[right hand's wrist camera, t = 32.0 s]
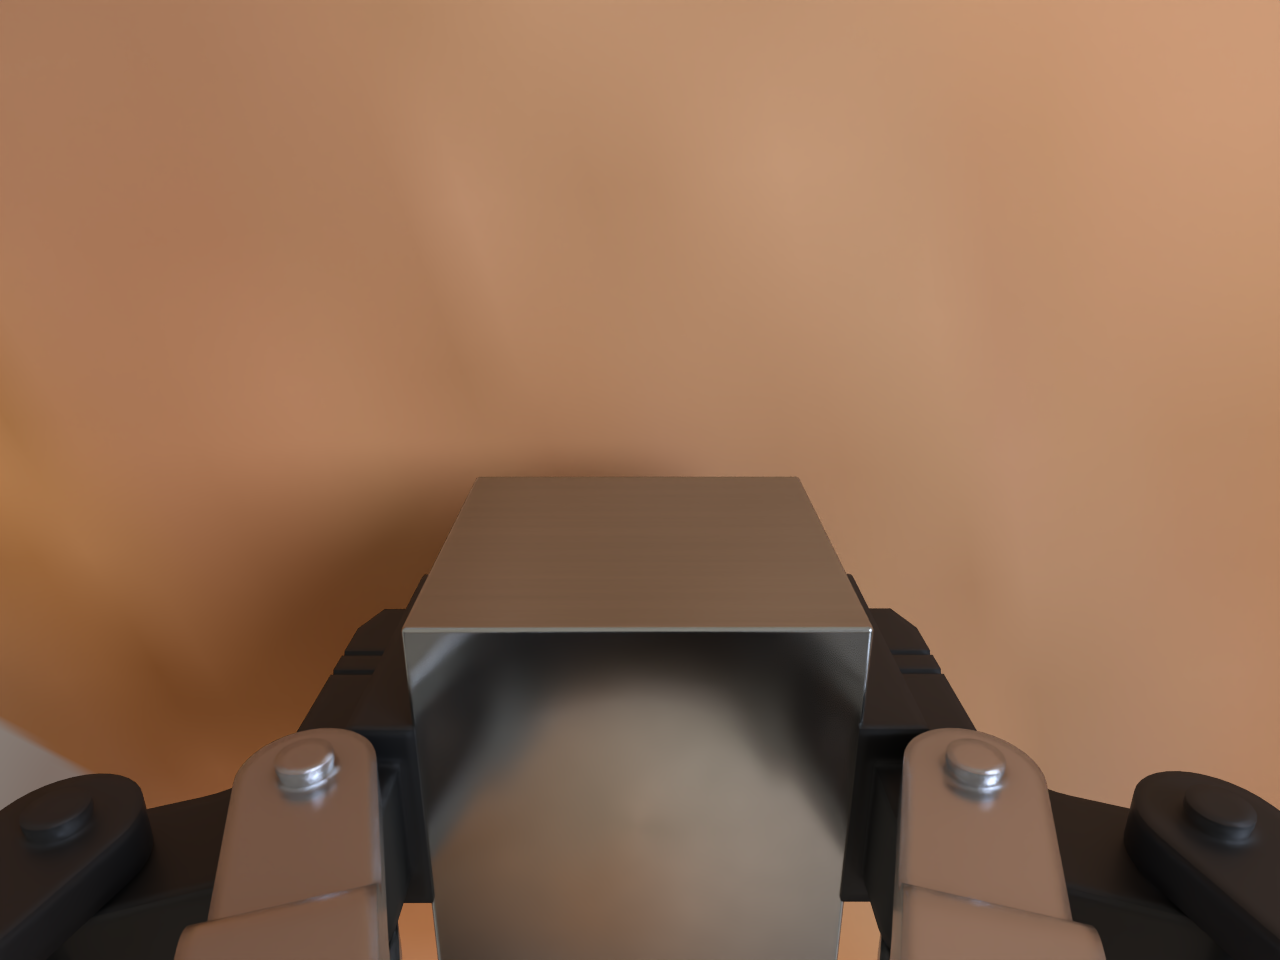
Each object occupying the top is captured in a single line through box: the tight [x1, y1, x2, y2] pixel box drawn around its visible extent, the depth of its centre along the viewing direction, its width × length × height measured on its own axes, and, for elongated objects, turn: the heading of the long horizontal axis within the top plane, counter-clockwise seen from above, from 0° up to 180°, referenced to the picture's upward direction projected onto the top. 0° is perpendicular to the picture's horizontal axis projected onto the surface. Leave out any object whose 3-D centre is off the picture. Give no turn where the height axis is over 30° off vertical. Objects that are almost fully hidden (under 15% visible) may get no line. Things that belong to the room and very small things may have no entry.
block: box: [401, 477, 874, 960], centre depth 11 cm, size 4×5×4 cm
